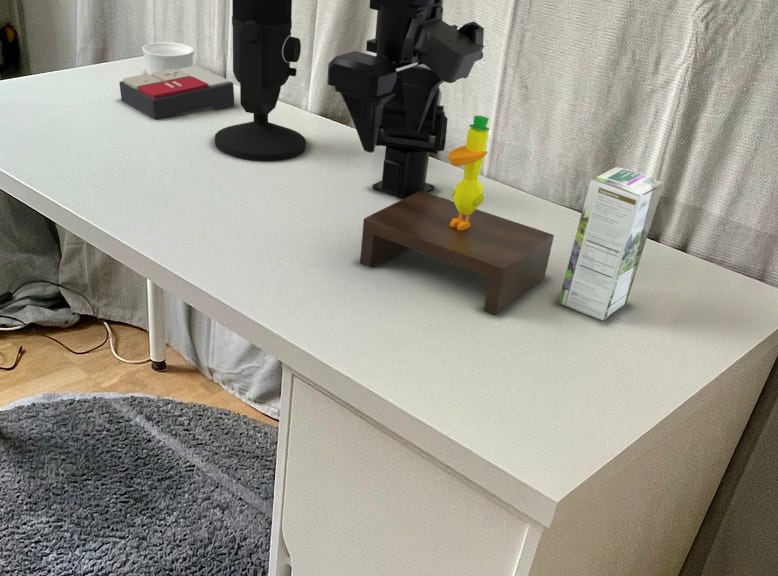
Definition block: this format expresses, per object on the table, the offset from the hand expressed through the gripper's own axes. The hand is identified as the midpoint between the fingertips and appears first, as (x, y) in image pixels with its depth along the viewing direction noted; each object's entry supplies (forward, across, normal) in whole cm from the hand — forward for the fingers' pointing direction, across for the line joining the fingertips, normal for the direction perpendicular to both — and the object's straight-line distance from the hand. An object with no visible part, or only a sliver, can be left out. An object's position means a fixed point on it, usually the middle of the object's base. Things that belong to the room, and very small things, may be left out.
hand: (391, 142), depth 100 cm
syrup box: (+13, +4, -26) cm, 29 cm away
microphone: (+13, +16, +33) cm, 39 cm away
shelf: (+12, 0, -10) cm, 16 cm away
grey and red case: (+13, +21, +55) cm, 60 cm away
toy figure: (+7, 0, -10) cm, 12 cm away
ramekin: (+13, +33, +68) cm, 76 cm away
